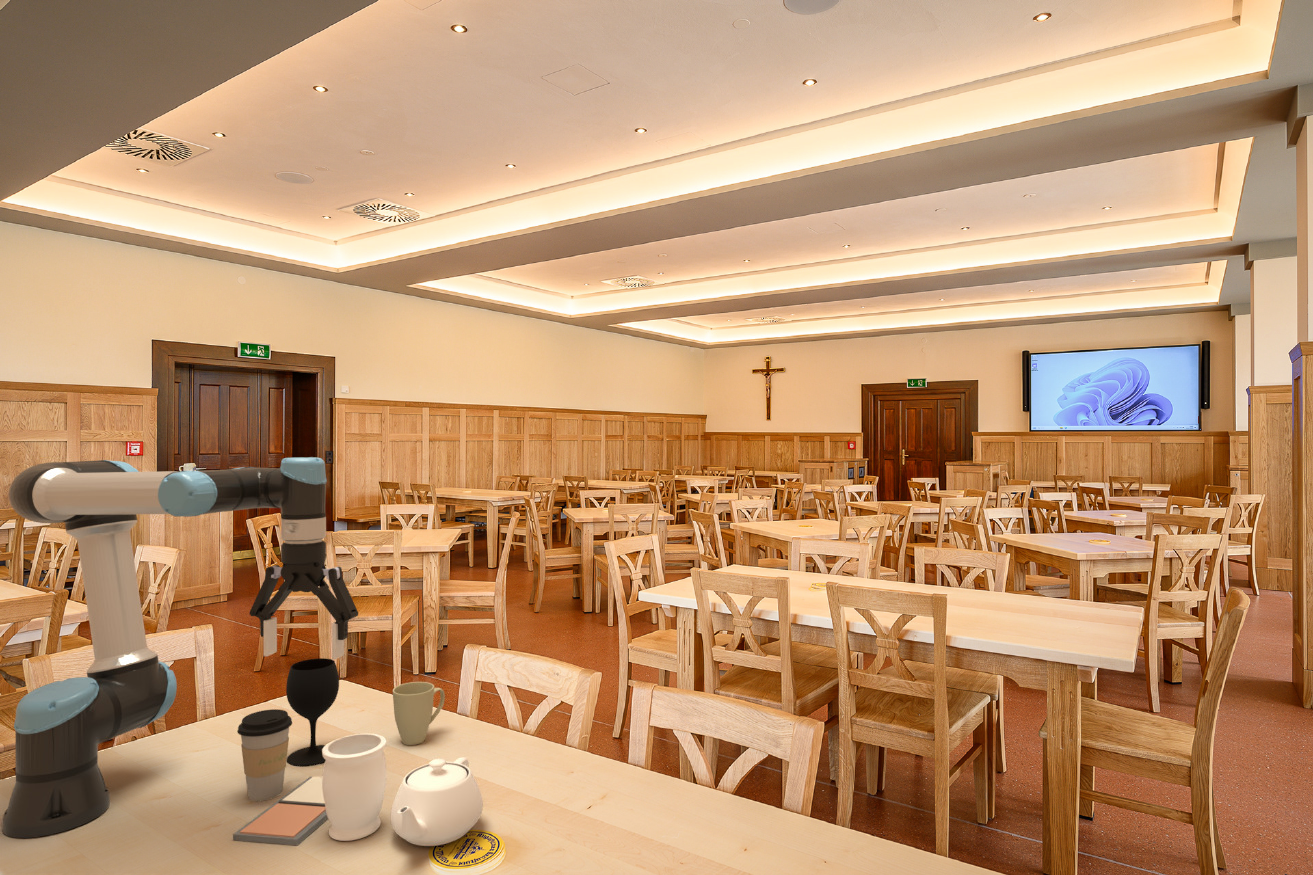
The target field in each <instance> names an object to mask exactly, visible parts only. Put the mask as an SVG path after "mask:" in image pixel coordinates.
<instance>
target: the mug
mask: <svg viewBox="0 0 1313 875" xmlns="http://www.w3.org/2000/svg"><path fill="white" fill-rule="evenodd" d="M437 692H439V693H440V700H439V704H438V706H437V707H436V709H435V711H433V710H434V709H433V708H434V696H435V694H436V693H437ZM392 699H393V700H392V701H393V713H394V722H395V724H396V728H397V730H398V734H399V737H400V739H401V743H402V744H404V745H405V746H416V745H420V744H422V743H424V742H425V740H426V736H427V733H428V730H429V727H430V725H431V724H432V723H433V721H434V720H435V719H436V718H437V716H439V713H440V712H441V710H442V709H443V707H444V704H445V699H446V695H445V691H444V690H443V689H442V688H440V687H435V685H434V684H433V683H431V682H427V681H411V682H406V683H405V682H404V683H401V684H399V685H396V686H395V687H394V688H393V689H392Z"/></svg>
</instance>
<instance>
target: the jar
mask: <svg viewBox="0 0 1313 875" xmlns="http://www.w3.org/2000/svg"><path fill="white" fill-rule="evenodd" d="M324 745H325V746H324V747H323V749H322V755H323V757H324V759H325V760H326V761H325V763H323V764H324V765H323V768H322V769H323V771H322V776H321V777H322V790H323V797H324V801H325V809H326V813H327V817H328V819H327V820H329V823H330V824H331V825H330V827H329V829H328V835H329V837H330V838H331V839H333V840H337V841H342V842H349V841H356V840H360V839H363V838H365V837H368V836H370V835H372V834H373V833H375V832H376V831H377V830H378V829H379V828H380V826H381V823H382V822H381V818H380V816H379V815H380V812H381V810H382V807H383V803H384V799H385V790H386V786H387V774H388V773H387V772H388V771H387V768H388V767H387V761H386V756H385V751H384V750H385V749H386V747H387V739H386V738H385V737H384V736H383V735H380V734H376V733H356V734H349V735H346V736H342V737H339V738H336V739H333V740H332V741H330V742H328V743H327V744H324Z"/></svg>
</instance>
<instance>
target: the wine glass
mask: <svg viewBox="0 0 1313 875" xmlns="http://www.w3.org/2000/svg"><path fill="white" fill-rule="evenodd" d="M285 687H286V688H285V689H286V690H285V692H286V698H287V699H286V700H287V702H288V704H289V706H290V707H291V709H292V710H293V711H294V712H295V713H296V714H298V715H299V716H300V717H302V718H304V719H306V720H308V722H309V726H310V727H309V728H310V744H309V746H306V747H302V748H299V749H297V750H295V751H293V752H291V753H290V754H288V755H287V761H286V764H289V765H290V766H293V767H303V768H304V767H315V766H318V765H322V764H325V761H326V760H325V759H324V757H323V755H322V749H323V747H324V746H325V745H326V744H317V740H316V738H317V737H316V733H317V732H316V730H317V722H318V719H319V718H320V717H321V716H323V715H324V714H325V713H326V712H328V710H329V709H330V708H331V707H332V706H333V704H334V703H335V701H336V699H337V697H338V693H339V689H340V677H339V671H338V667H337V665H336V661H335V659H332V658H331V659H330V658H311V659H304V660H300V661H297V662H295V663H293V664H291V666H290V668H289V671H288V675H287V679H286V686H285Z"/></svg>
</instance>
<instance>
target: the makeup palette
mask: <svg viewBox="0 0 1313 875" xmlns="http://www.w3.org/2000/svg"><path fill="white" fill-rule="evenodd" d="M322 777H323V776H309V777H308V778H306V779H304V781H302V782H301V783H300V784H298V785H297V786H296V787H294V788H293V789H291V790H290V791H289V792H287V793H286V794H285V795H284V796H282V797H281V798H279V799H278V800H277V801H275V802H274V803H273V804H271V805H270V806H269V807H268V808H266V809H264V810H263V811H262V812H261V813H260V814H258V815H257V816H255V817H254V818H253V819H251V820H250V821H249V822H247V823H245V825H243V826H242V827H240V828H239V829H238V830H237V831H235V832H234V833H232V841H239V842H250V843H262V844H275V845H287V846H297V847H298V845H300V844H301V843H302V842H304V841H305V840H306V838H308V837H309V836H310V835H311V834H312V833H313V832H314V831H316V830H317V829H318V828H319V827H321V825H322V824H324V823H325V822H326V821H327V820H329V819H328V817H327V813H326V809H325V801H324V797H323V790H322Z"/></svg>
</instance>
